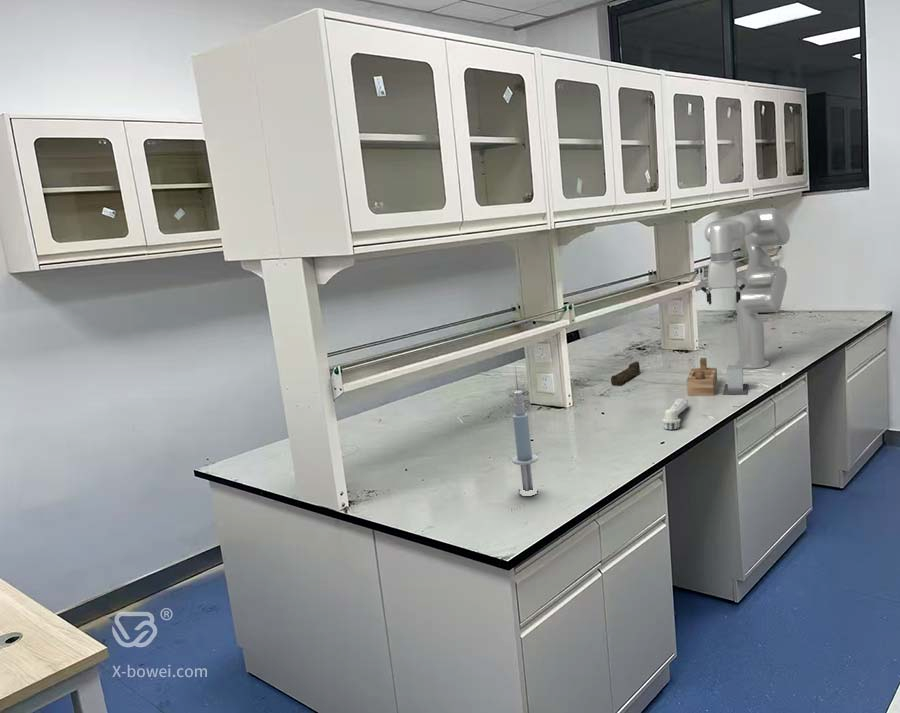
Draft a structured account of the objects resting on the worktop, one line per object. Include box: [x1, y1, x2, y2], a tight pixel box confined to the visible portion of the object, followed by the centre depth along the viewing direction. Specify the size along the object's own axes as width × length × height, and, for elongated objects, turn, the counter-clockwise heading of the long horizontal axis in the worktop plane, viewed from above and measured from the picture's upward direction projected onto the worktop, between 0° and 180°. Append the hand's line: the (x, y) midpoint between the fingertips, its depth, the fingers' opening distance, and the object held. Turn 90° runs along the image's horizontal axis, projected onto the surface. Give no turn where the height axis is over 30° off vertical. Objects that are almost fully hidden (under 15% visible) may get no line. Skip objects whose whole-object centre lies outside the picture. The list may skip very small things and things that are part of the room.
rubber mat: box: [722, 382, 749, 396], centre depth 260 cm, size 14×8×1 cm, turn 156°
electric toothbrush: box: [661, 397, 689, 430], centre depth 235 cm, size 5×7×25 cm
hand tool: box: [610, 361, 641, 387], centre depth 293 cm, size 23×5×6 cm, turn 139°
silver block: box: [726, 364, 744, 391], centre depth 259 cm, size 7×5×8 cm
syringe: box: [511, 367, 539, 491], centre depth 186 cm, size 6×7×36 cm
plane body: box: [686, 357, 718, 397], centre depth 264 cm, size 18×9×10 cm, turn 156°
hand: (723, 303), depth 266 cm, fingers open, 9 cm apart
